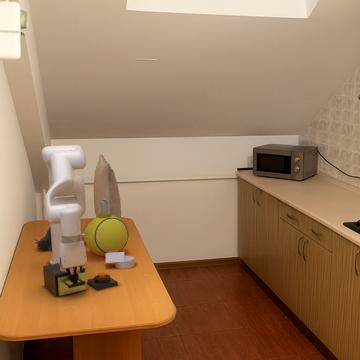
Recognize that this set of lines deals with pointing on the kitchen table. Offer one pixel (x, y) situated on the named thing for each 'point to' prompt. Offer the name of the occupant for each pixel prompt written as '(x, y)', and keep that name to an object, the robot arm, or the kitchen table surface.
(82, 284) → the tray
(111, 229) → the toy
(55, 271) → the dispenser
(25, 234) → the kitchen table surface
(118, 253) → the wedge on round base
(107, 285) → the control block
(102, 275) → the button
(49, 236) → the dragon figurine
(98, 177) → the pillow
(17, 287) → the kitchen table surface
